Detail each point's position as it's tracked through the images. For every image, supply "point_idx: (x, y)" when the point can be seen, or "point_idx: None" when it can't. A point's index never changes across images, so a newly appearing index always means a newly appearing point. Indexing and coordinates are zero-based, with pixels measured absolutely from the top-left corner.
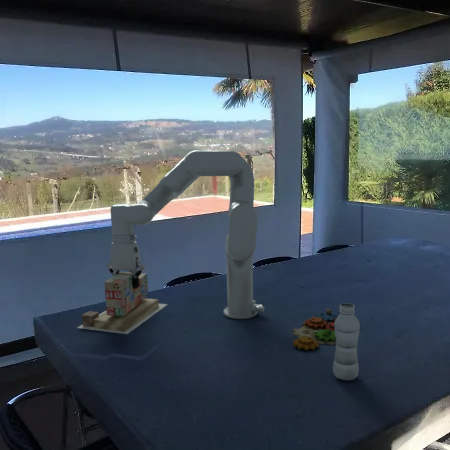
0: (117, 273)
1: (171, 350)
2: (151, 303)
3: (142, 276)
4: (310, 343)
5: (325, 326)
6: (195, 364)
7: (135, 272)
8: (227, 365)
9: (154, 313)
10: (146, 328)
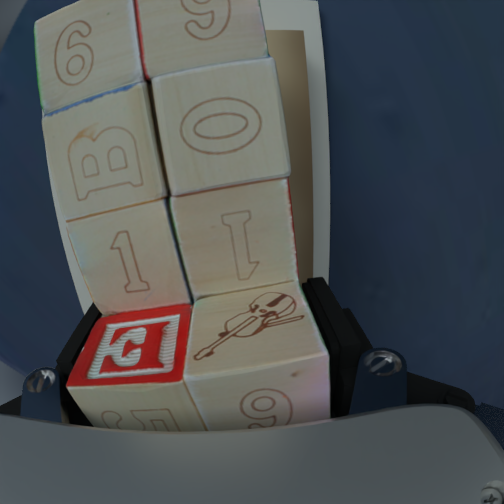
0: (74, 418)
1: (459, 364)
2: (303, 109)
3: (277, 95)
4: None
5: None
6: (496, 377)
7: (354, 409)
8: None
9: (325, 141)
10: (357, 287)
